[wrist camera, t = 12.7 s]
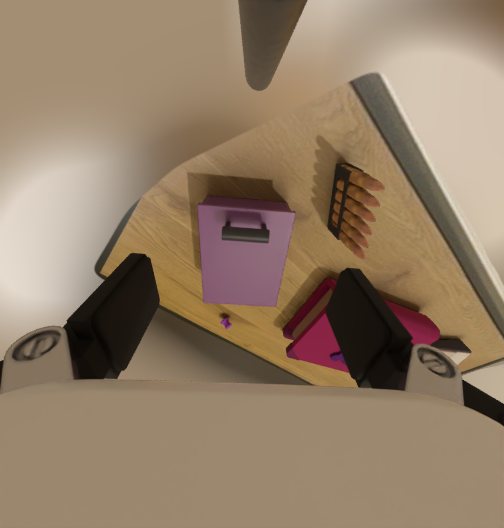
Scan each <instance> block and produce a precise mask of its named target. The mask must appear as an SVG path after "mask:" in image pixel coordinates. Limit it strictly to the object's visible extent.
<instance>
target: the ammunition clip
mask: <svg viewBox="0 0 504 528" xmlns="http://www.w3.org/2000/svg"><path fill="white" fill-rule="evenodd" d="M362 187H363V188H362ZM364 188H366V189H369V190H372V191H378V192H380V191H384V190H385V188H384V186H383V184H382V183H381V182H379V181H378V180H376V179H374V178H372V177H371V176H370V175H369V174H367V173H364V172H363V170H361V169H359V168H357V167H355V166H353V165H351V164H349V163H343V164H337V165H336V170H335V177H334V184H333V192H332V199H331V206H330V213H329V220H328V229H329V230H330V231H331V233H332V234H333V235H334V236H335V237H336V238H337V240H341V241H342V242H343V243H344V245H345V246H346V247H347V248H349V249H350V250H351V251H352V252H353V253H354V254H355V255H356V256H357V257H359V258H361V259H365V254H364V252H363V250H362V249H361V247H360V246H362V247H365V248H368V247H369V245H368V242H367V240H366V239H365V237H364V236H363V235H362V234H361V233H360V232H362V233H363V234H365V235H369V236H371V235H372V231H371V229H370V227H369V226H368V225H367V224H366V223H365V222H364V221H363V220H362V218H363V219H364V220H366V221H369V222H376V218H375V216H374V215H373V213H372V212H371V211H369V210H368V209H367V208H366V207H365V206H364V204H366V205H368V206H370V207H380V203H379V201H378V200H377V199H376V198H375V197H374V196H372V195H371V194H370V193H368V191H367V190H365V189H364ZM361 202H362V203H361ZM363 203H364V204H363ZM358 244H359V245H360V246H359V245H358Z"/></svg>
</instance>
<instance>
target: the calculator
mask: <svg viewBox="0 0 504 528" xmlns="http://www.w3.org/2000/svg"><path fill="white" fill-rule="evenodd" d="M430 346H432V347H435V348H437V349H438V350H440V351H442V352H443V353H445V354H446V355H447V356H448V357H450V358H451V359H452V360H453V361H454V362H455V363H456V365H457V364H459V363H460V362H461V361H462V360H464V359H465V358H466V357H467V356H468V355H470V353H471V350H470V349H469V348H468V347H467V346H466V345H465V344H464V343H463V342H462V341H461V340H455V339H448V340H440V339H438V340H436V341H435V342H433V343H432V344H430Z"/></svg>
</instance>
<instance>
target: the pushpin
mask: <svg viewBox="0 0 504 528" xmlns="http://www.w3.org/2000/svg"><path fill="white" fill-rule="evenodd" d="M221 317H222V316H221ZM222 318H223V317H222ZM221 324H223V325H224V326H225V328H226V329H228V328H229V327H230V326H231V325H232V324H231V323H230V322H229V321H228V317H227V318H225V319H224V318H223V320H222V321H221Z"/></svg>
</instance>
